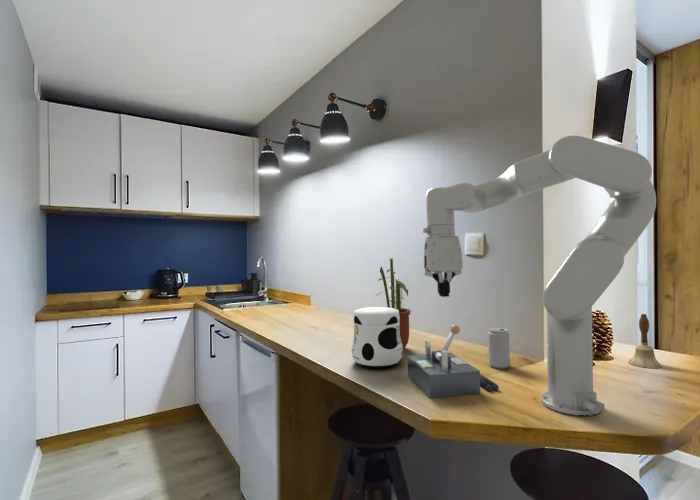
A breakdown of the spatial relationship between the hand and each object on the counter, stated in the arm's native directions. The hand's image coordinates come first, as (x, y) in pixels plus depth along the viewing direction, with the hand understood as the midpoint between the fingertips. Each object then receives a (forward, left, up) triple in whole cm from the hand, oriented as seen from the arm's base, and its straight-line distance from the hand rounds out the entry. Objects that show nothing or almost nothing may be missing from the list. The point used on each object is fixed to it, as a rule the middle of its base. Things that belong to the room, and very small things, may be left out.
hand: (444, 296), depth 109 cm
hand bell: (0, -67, -25) cm, 71 cm away
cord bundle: (0, -11, -25) cm, 27 cm away
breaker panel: (0, +1, -25) cm, 25 cm away
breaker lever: (0, +1, -18) cm, 18 cm away
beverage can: (+10, -23, -25) cm, 35 cm away
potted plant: (+41, +4, -25) cm, 49 cm away
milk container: (+23, +14, -25) cm, 37 cm away
